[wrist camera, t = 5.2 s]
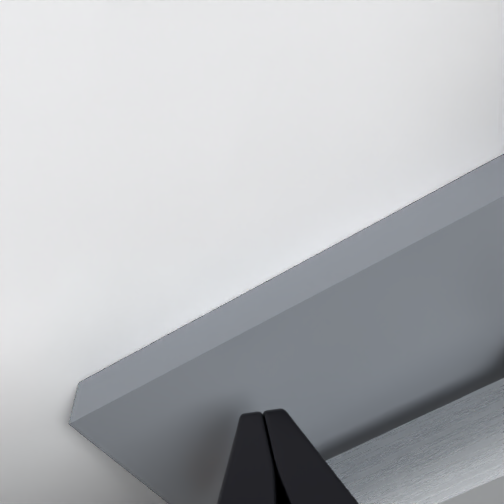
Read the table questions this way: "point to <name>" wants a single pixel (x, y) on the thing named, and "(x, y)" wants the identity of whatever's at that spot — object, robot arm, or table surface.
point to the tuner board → (319, 346)
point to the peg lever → (433, 456)
